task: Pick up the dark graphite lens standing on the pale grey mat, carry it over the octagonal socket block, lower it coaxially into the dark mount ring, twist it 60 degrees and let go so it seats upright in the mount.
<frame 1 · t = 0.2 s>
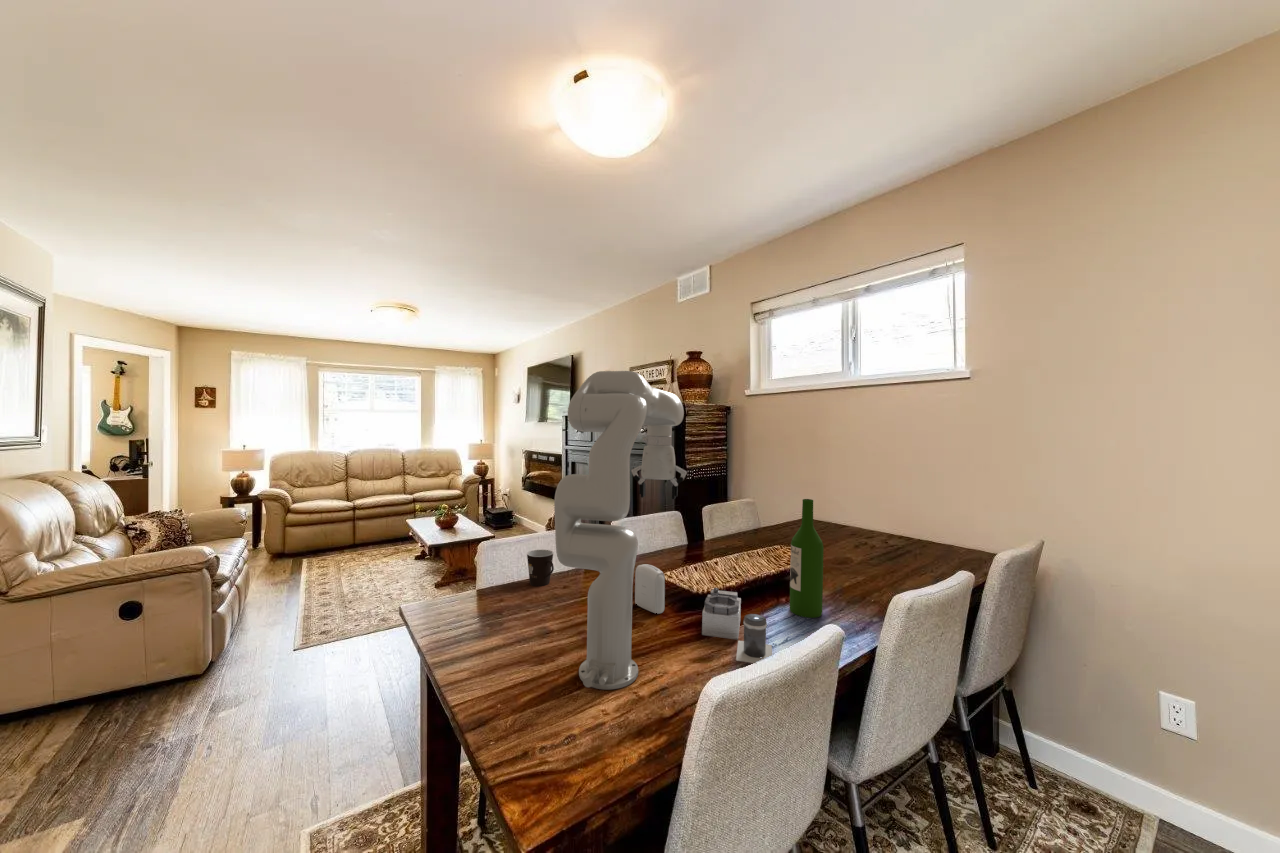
hand: (658, 497, 141), 31 cm above the table, tool pointing down, fingers open, 9 cm apart
octagonal socket block: (722, 627, 122), on the table
photo printer: (649, 608, 134), on the table
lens: (754, 652, 108), resting on mat
wine bottle: (805, 612, 134), on the table
mat: (754, 654, 108), on the table
coffee mug: (540, 585, 152), on the table
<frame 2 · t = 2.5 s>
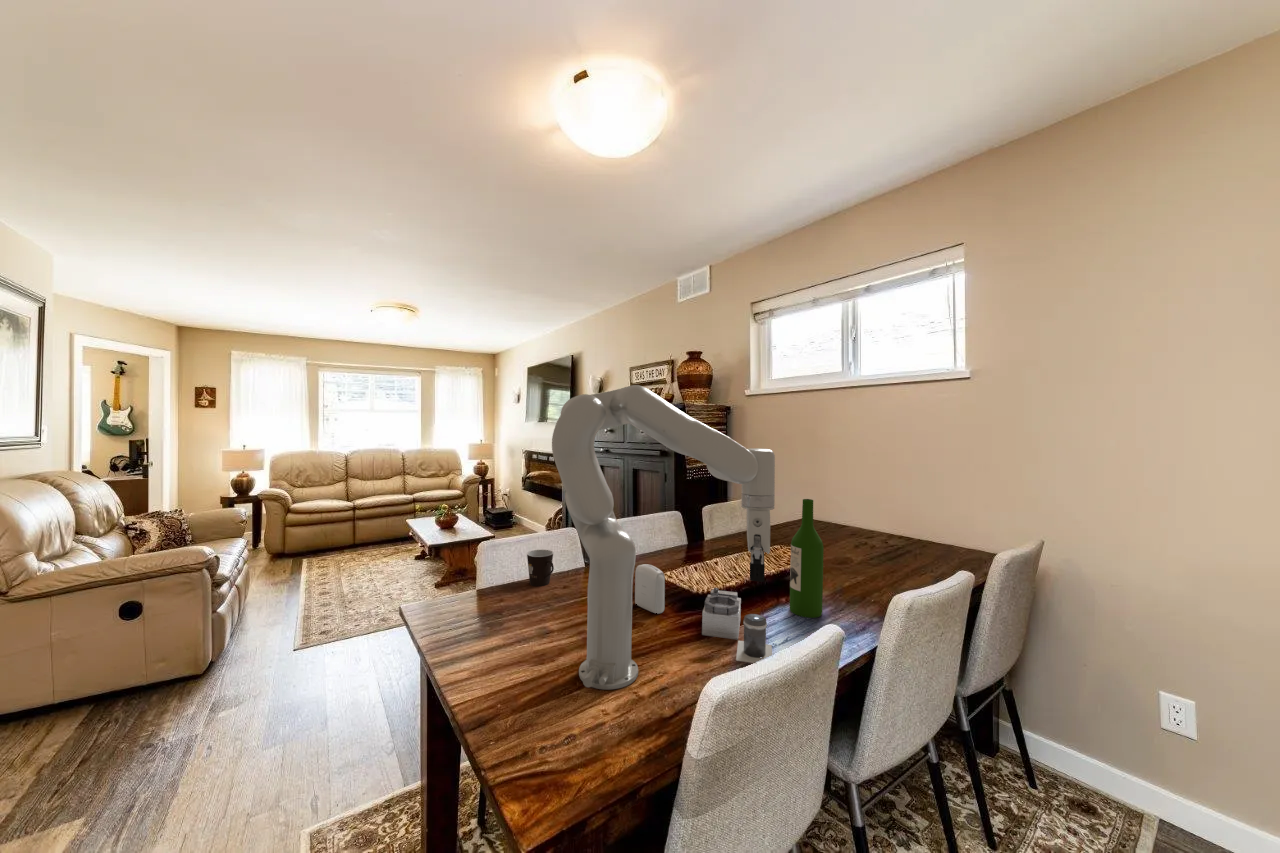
hand: (757, 574, 108), 19 cm above the table, tool pointing down, fingers open, 9 cm apart
nothing on the table moved.
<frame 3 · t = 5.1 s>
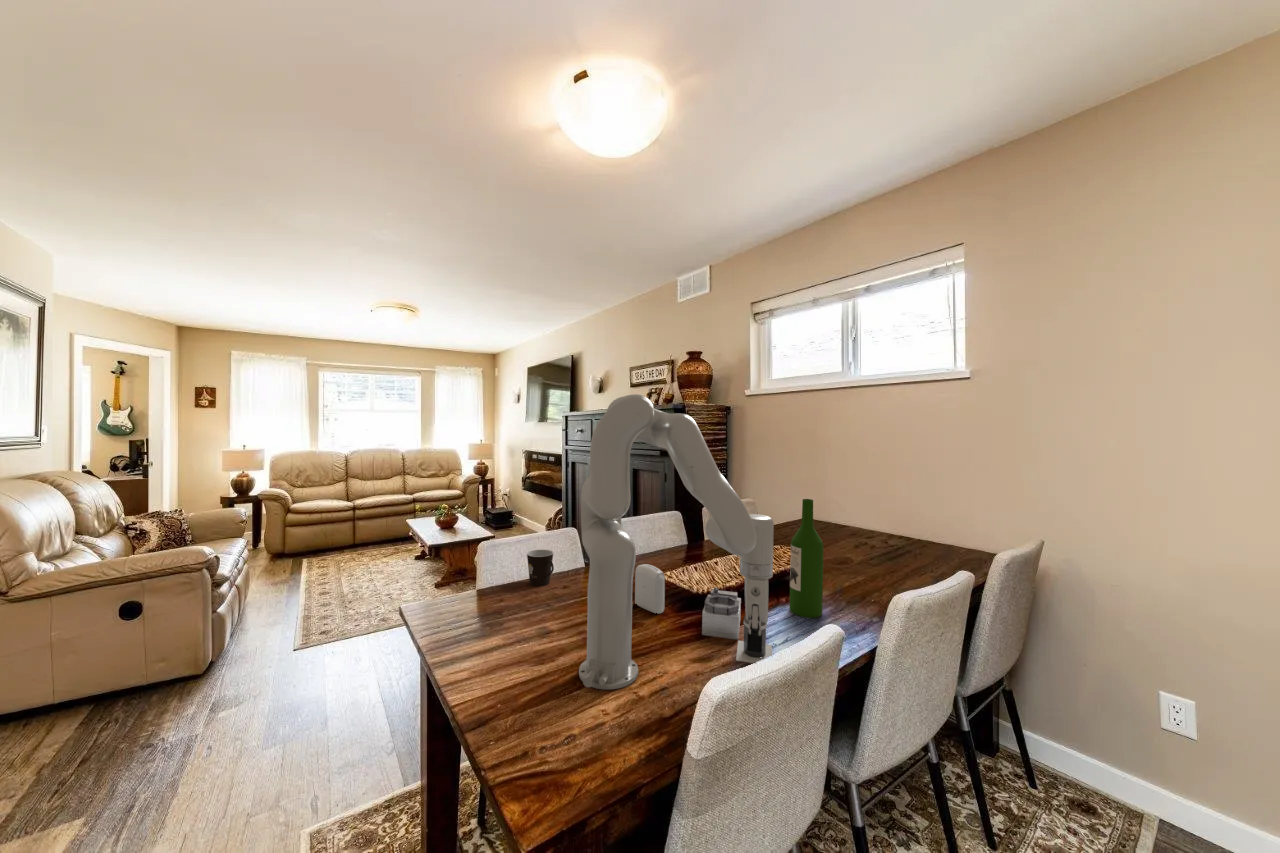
hand: (754, 644, 108), 2 cm above the table, tool pointing down, fingers closed on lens, 5 cm apart
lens: (754, 652, 108), resting on mat, touching gripper
everything else where it was.
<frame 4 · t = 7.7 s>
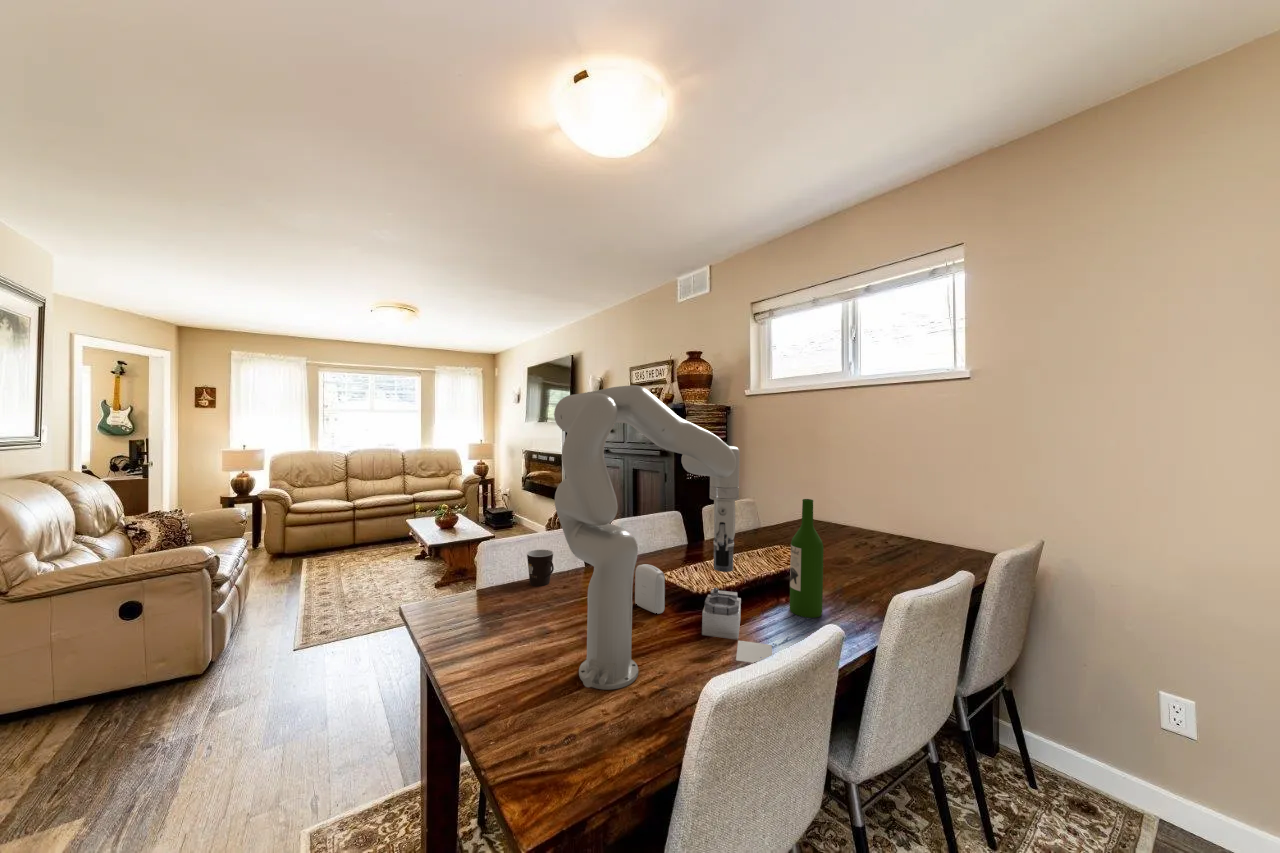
hand: (723, 561, 120), 18 cm above the table, tool pointing down, fingers closed on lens, 5 cm apart
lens: (723, 568, 120), point 16 cm above the table, touching gripper
everything else where it was.
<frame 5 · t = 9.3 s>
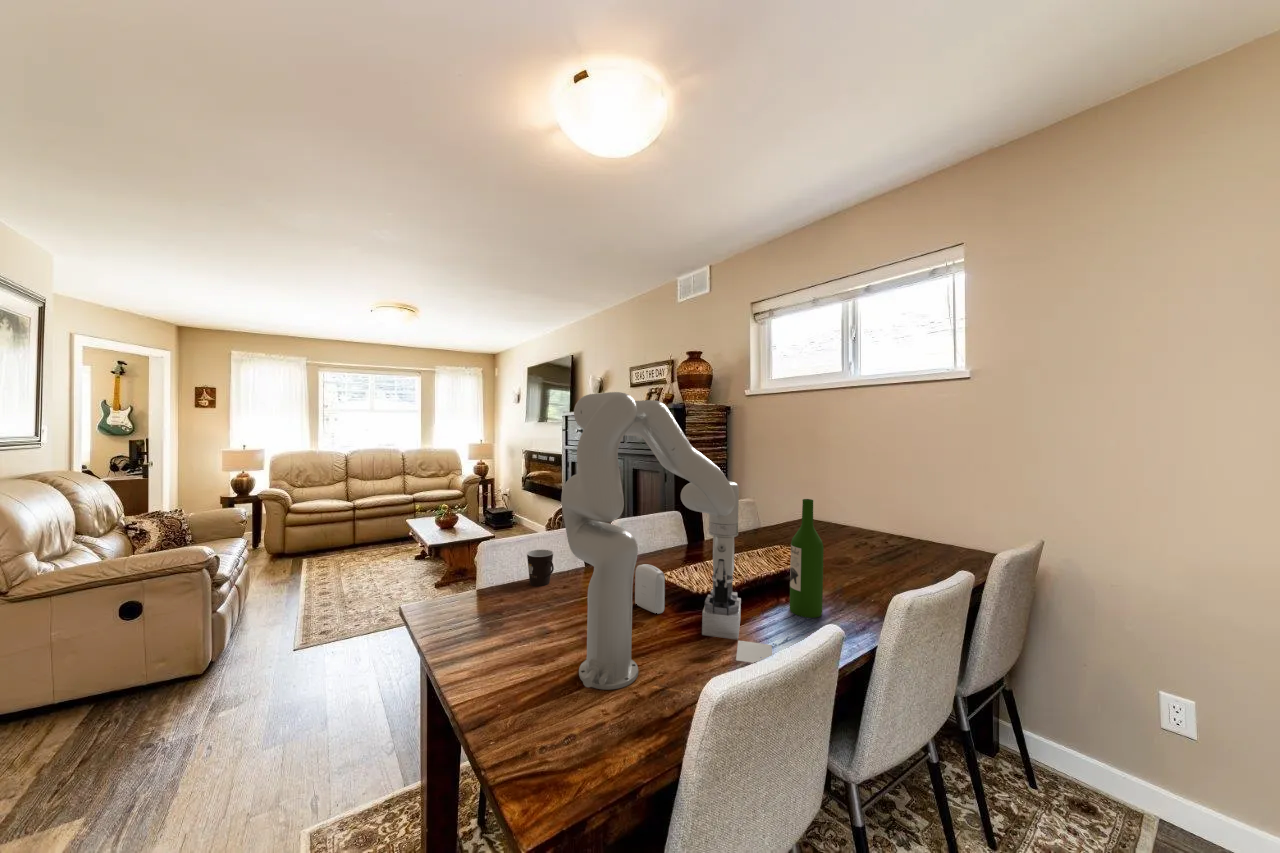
hand: (722, 597, 120), 9 cm above the table, tool pointing down, fingers closed on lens, 5 cm apart
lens: (722, 604, 120), point 7 cm above the table, touching gripper
everything else where it was.
when the fingers open (9 cm above the table, at t = 10.7 s): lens stays where it is, resting on octagonal socket block.
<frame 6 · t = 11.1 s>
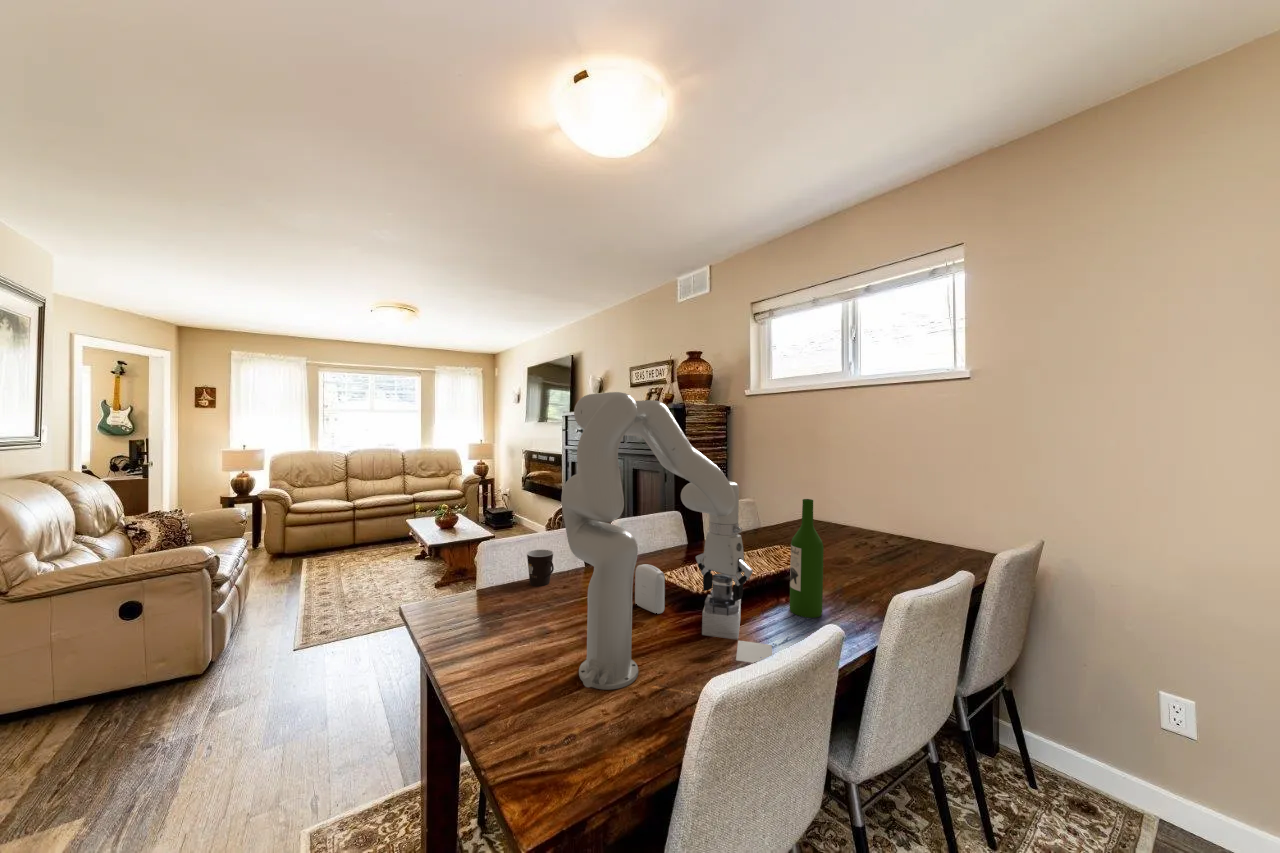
hand: (722, 594, 120), 9 cm above the table, tool pointing down, fingers open, 9 cm apart
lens: (721, 607, 120), point 6 cm above the table, touching octagonal socket block
everything else where it was.
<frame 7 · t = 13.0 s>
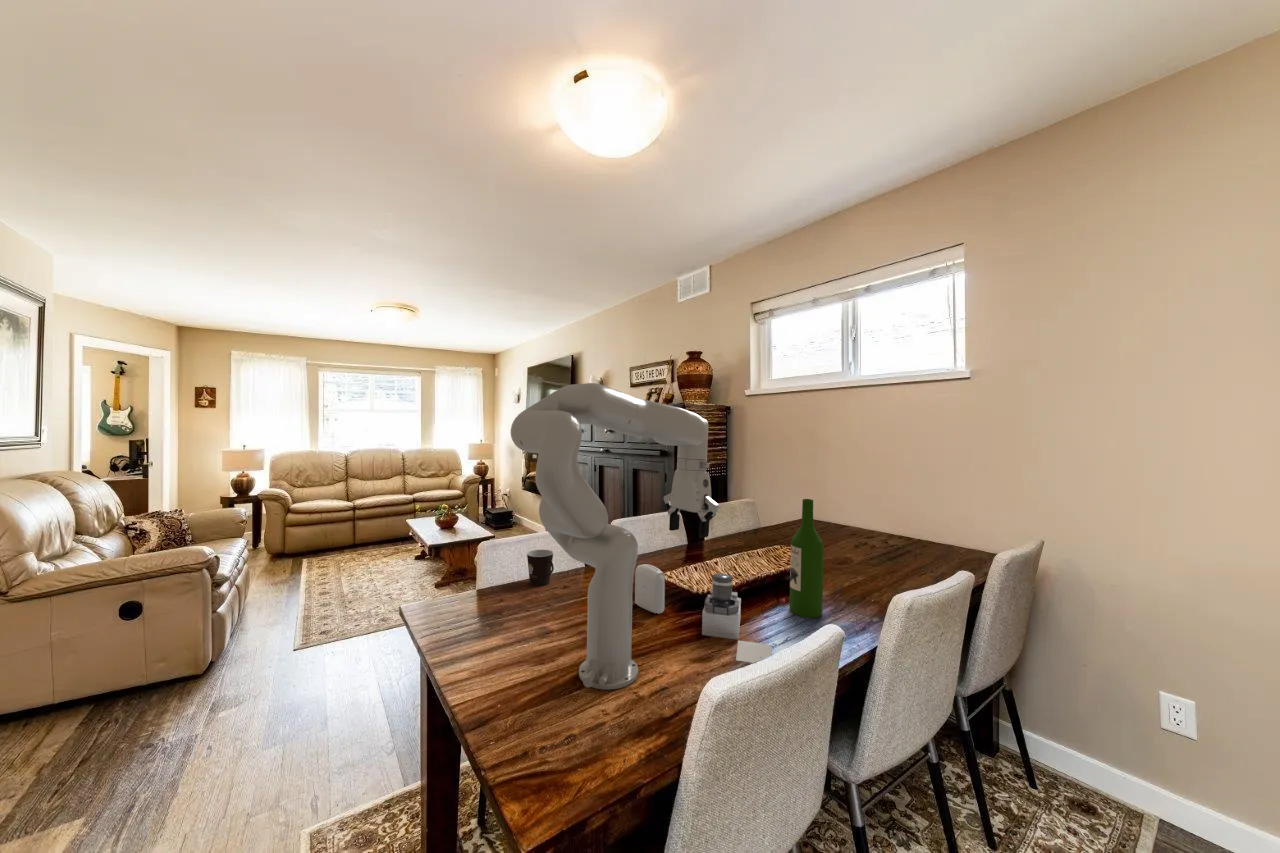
hand: (688, 533, 117), 26 cm above the table, tool pointing down, fingers open, 9 cm apart
nothing on the table moved.
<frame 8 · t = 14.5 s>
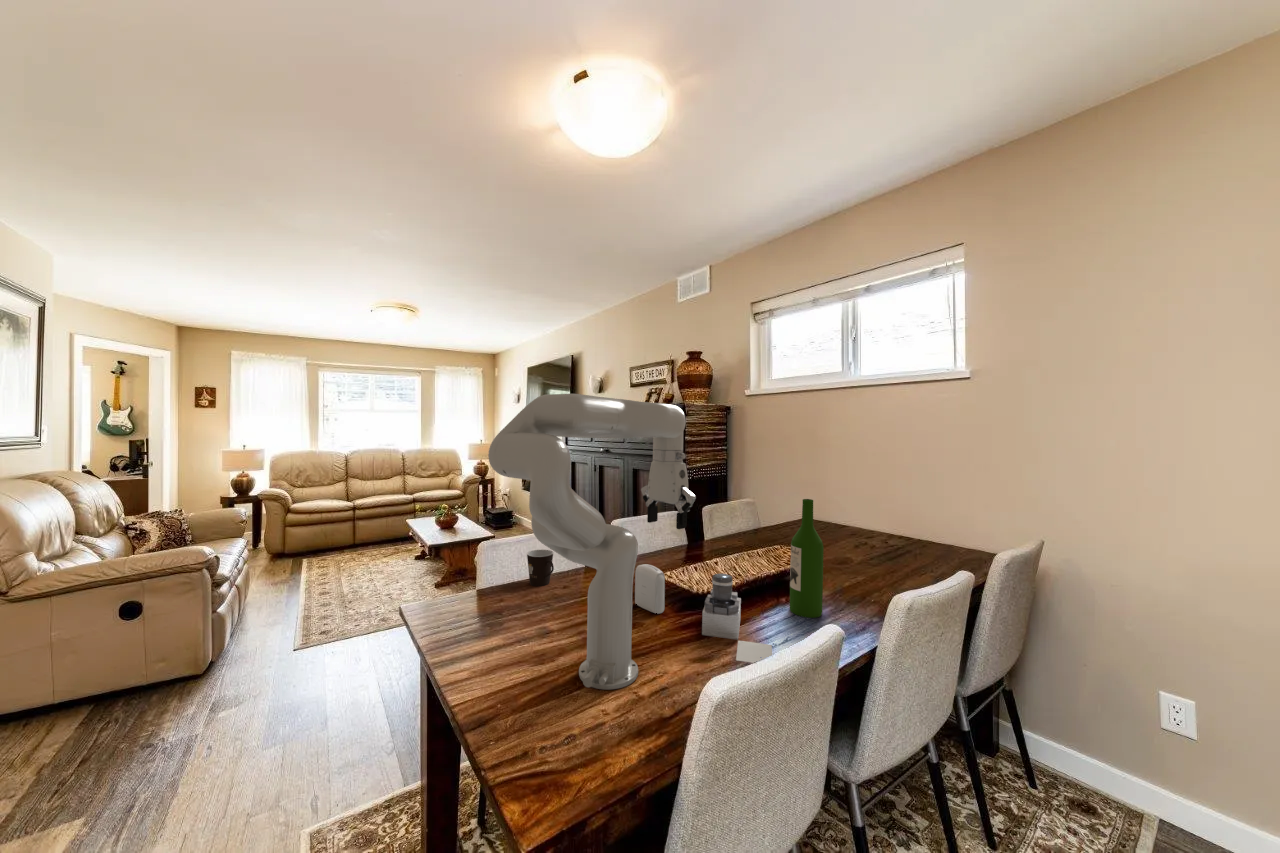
hand: (666, 525, 116), 28 cm above the table, tool pointing down, fingers open, 9 cm apart
nothing on the table moved.
at the end: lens 0.1 cm from the target spot on the octagonal socket block, point 6.0 cm above the octagonal socket block's base; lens tilted 0°; the gripper is holding nothing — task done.
